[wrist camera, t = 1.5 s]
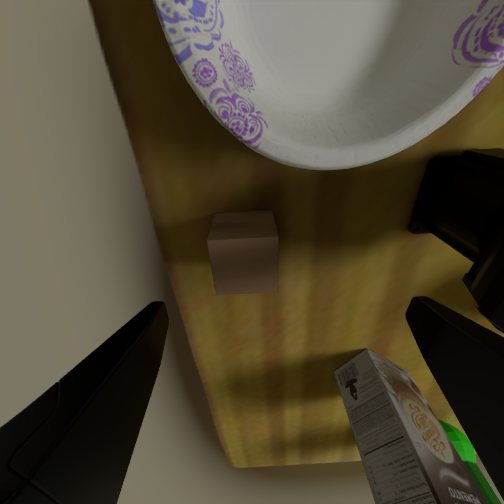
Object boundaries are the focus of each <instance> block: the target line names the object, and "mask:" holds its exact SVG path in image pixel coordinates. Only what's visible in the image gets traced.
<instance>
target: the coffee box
mask: <svg viewBox="0 0 504 504" xmlns="http://www.w3.org/2000/svg"><path fill="white" fill-rule="evenodd" d="M334 374H335V377H336V380H337V383H338V387H339V390H340V393H341V396H342V399H343V402H344V406H345V409H346V412H347V415H348V418H349V421H350V425H351V428H352V431H353V434H354V437H355V440H356V444H357V447H358V450H359V453H360V456H361V459H362V463H363V466H364V469H365V472H366V475H367V478H368V481H369V485H370V488H371V491H372V494H373V497H374V501H375V504H488V502H487V500H486V499H485V497H484V495H483V494H482V492H481V490H480V489H479V487H478V485H477V484H476V482H475V480H474V479H473V477H472V475H471V474H470V472H469V470H468V469H467V467H466V465H465V464H464V462H463V460H462V459H461V457H460V455H459V454H458V452H457V451H456V449H455V447H454V446H453V444H452V442H451V441H450V439H449V437H448V436H447V434H446V432H445V431H444V429H443V427H442V426H441V424H440V422H439V421H438V419H437V417H436V416H435V414H434V412H433V411H432V409H431V408H430V406H429V404H428V402H427V401H426V399H425V397H424V396H423V394H422V393H421V391H420V389H419V387H418V386H417V384H416V383H415V381H414V379H413V378H412V376H411V374H410V373H409V372H408V371H407V370H405V369H403V368H401V367H399V366H397V365H395V364H394V363H392V362H390V361H388V360H386V359H385V358H383V357H381V356H379V355H377V354H376V353H374V352H372V351H370V350H368V349H365V350H364V351H362V352H361V353H359V354H358V355H357V356H355V357H354V358H352V359H351V360H350V361H348V362H347V363H346V364H344V365H343V366H341V367H340V368H339V369H337V370H336V371H334Z"/></svg>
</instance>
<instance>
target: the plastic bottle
mask: <svg viewBox="0 0 504 504" xmlns="http://www.w3.org/2000/svg"><path fill="white" fill-rule="evenodd" d="M438 421H439V422H440V424H441V426H442V427H443V429H444V431H445V432H446V434H447V436H448V437H449V439H450V441H451V442H452V444H453V446H454V447H455V449H456V451H457V452H458V454H459V455H460V457H461V459H462V460H463V462H464V464H465V465H466V467H467V469H468V470H469V472H470V474H471V475H472V477H473V479H474V480H475V482H476V484H477V485H478V487H479V489H480V490H481V492H482V494H483V495H484V497H485V499H486V500H487V502H488V504H501V502H500V501H499V499H498V497H497V496H496V494H495V493H494V491H493V490H492V488H491V486H490V485H489V483H488V482H487V481H486V479H485V477H484V476H483V474H482V472H481V471H480V469H479V468H478V466H477V463H476V457H475V453H474V450H473V446H472V444H471V443H470V441H469V440H468V438H467V437H466V436H465V435H464V434H463V433H462V432H461V431H460V430H459V429H457V428H455V427H454V426H452V425H450V424H448V423H445V422H443V421H441V420H439V419H438Z"/></svg>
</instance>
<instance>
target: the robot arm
mask: <svg viewBox="0 0 504 504" xmlns="http://www.w3.org/2000/svg"><path fill="white" fill-rule="evenodd" d="M437 161H438V164H437V165H436V166H435V163H436V162H437ZM416 226H417V227H416ZM415 227H416V228H415ZM414 228H415V229H414ZM408 230H409V231H410V232H411V233H413V234H420V233H432V234H433V235H435V236H436V237H438V238H439V239H441V240H442V241H443V242H445V243H446V244H448V245H449V246H451V247H452V248H453V249H455V250H456V251H458V252H459V253H461V254H462V255H463V256H465V257H466V258H468V259H469V260H470V261H472V262H473V265H472V267H471V268H470V270H469V272H468V273H466V274H465V275H464V277H463V279H462V280H463V282H464V284H465V285H466V287H467V288H468V290H469V291H470V293H471V294H472V296H473V298H474V299H475V301H476V302H477V304H478V305H479V306H478V308H477V309H478V310H479V312H480V313H481V314H482V315H483V316H484V317H485V318H486V319H487V320H489V322H490V323H491V324H492V325H493V326H494V327H495V328H496V329H498V330H499V331H501V332H502V333H504V149H500V148H493V149H475V150H466V151H464V152H462V154H461V155H454V156H437V157H434V158H432V159H431V160H430V161H429V163H428V166H427V170H426V173H425V176H424V179H423V182H422V185H421V189H420V192H419V195H418V198H417V201H416V204H415V208H414V211H413V214H412V217H411V220H410V223H409V227H408ZM405 315H406V320H407V322H408V325H409V327H410V329H411V331H412V334H413V336H414V338H415V340H416V343H417V345H418V347H419V349H420V352H421V354H422V356H423V358H424V360H425V362H426V364H427V366H428V367H429V369H430V371H431V373H432V374H433V376H434V378H435V380H436V382H437V383H438V385H439V387H440V389H441V390H442V392H443V394H444V396H445V398H446V399H447V401H448V403H449V405H450V406H451V408H452V410H453V412H454V413H455V415H456V417H457V419H458V421H459V422H460V424H461V426H462V428H463V429H464V431H465V433H466V435H467V437H468V438H469V440H470V442H471V444H472V445H473V447H474V449H475V451H476V453H477V454H478V456H479V458H480V460H481V461H482V463H483V465H484V467H485V468H486V470H487V472H488V474H489V476H490V477H491V479H492V481H493V483H494V484H495V486H496V488H497V490H498V492H499V493H500V495H501V497H502V499H503V501H504V337H502V336H500V335H498V334H496V333H494V332H493V331H491V330H489V329H487V328H485V327H483V326H481V325H479V324H477V323H476V322H474V321H472V320H470V319H468V318H466V317H464V316H462V315H461V314H459V313H457V312H455V311H453V310H451V309H449V308H447V307H445V306H444V305H442V304H440V303H438V302H436V301H434V300H432V299H430V298H429V297H426V296H416V297H413V298H412V300H411V302H410V304H409V306H408V309H407V311H406V314H405ZM168 324H169V317H168V313H167V309H166V305H165V303H164V302H163V301H154V302H151V303H150V304H149V305H147V306H146V307H145V308H144V309H143V310H141V311H140V312H139V313H138V314H137V315H135V316H134V317H133V318H132V319H131V320H130V321H128V322H127V323H126V324H125V325H124V326H122V327H121V328H120V329H119V330H118V331H117V332H116V333H114V334H113V335H112V336H111V337H109V338H108V339H107V340H106V341H105V342H104V343H102V344H101V345H100V346H99V347H98V348H97V349H95V350H94V351H93V352H92V353H91V354H90V355H88V356H87V357H86V358H85V359H83V360H82V361H81V362H80V363H79V364H78V365H76V366H75V367H74V368H73V369H72V370H71V371H70V372H68V373H67V374H66V375H65V376H63V377H62V378H61V379H60V380H59V382H56V383H55V384H54V385H53V386H52V387H50V388H49V389H48V390H47V391H46V392H44V393H43V394H42V395H41V396H40V397H38V398H37V399H36V400H35V401H33V402H32V403H31V404H30V405H29V406H27V407H26V408H25V409H24V410H22V411H21V412H20V413H19V414H17V415H16V416H15V417H13V418H12V419H11V420H10V421H9V422H7V423H6V424H4V425H3V426H2V427H0V504H117V501H118V498H119V495H120V492H121V488H122V485H123V482H124V479H125V476H126V472H127V469H128V466H129V463H130V460H131V457H132V453H133V450H134V447H135V444H136V441H137V438H138V435H139V431H140V428H141V425H142V422H143V419H144V415H145V412H146V409H147V406H148V403H149V400H150V397H151V394H152V390H153V387H154V384H155V381H156V378H157V375H158V371H159V368H160V364H161V360H162V355H163V350H164V345H165V340H166V335H167V330H168Z"/></svg>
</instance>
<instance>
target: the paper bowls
mask: <svg viewBox="0 0 504 504" xmlns="http://www.w3.org/2000/svg"><path fill="white" fill-rule="evenodd" d="M153 3H154V6H155V9H156V12H157V15H158V18H159V21H160V24H161V26H162V29H163V32H164V34H165V37H166V40H167V42H168V44H169V46H170V49H171V51H172V53H173V55H174V58H175V60H176V62H177V64H178V66H179V67H180V69H181V71H182V73H183V74H184V76H185V78H186V80H187V82H188V83H189V84H190V86H191V87H192V89H193V90H194V92H195V93H196V95H197V96H198V97H199V99H200V101H201V102H202V103H203V105H204V106H205V107H206V108H207V109H208V110H209V112H210V113H211V114H212V115H213V117H214V118H215V119H216V120H217V121H218V122H219V123H220V124H221V125H222V126H223V127H225V128H226V129H227V130H228V131H229V132H230V133H231V134H232V135H234V136H235V137H236V138H237V139H238V140H240V141H241V142H242V143H244V144H245V145H246V146H248V147H249V148H251V149H252V150H254V151H255V152H257V153H259V154H261V155H263V156H265V157H267V158H269V159H272V160H274V161H276V162H279V163H281V164H284V165H288V166H292V167H296V168H302V169H310V170H338V169H348V168H353V167H358V166H362V165H366V164H370V163H373V162H375V161H379V160H382V159H384V158H387V157H389V156H391V155H394V154H396V153H398V152H400V151H402V150H404V149H406V148H408V147H410V146H412V145H414V144H415V143H417V142H418V141H420V140H422V139H423V138H425V137H427V136H428V135H429V134H431V133H432V132H433V131H435V130H436V129H438V128H439V127H440V126H442V125H444V124H445V123H446V122H447V121H448V120H449V119H451V118H452V117H453V116H454V115H456V114H457V113H458V112H459V111H460V110H461V109H462V108H464V107H465V106H466V105H467V103H469V102H470V101H471V100H473V99H474V98H475V96H476V95H477V94H478V93H479V92H480V91H481V90H482V89H483V88H484V87H485V86H486V85H487V84H488V83H489V82H490V81H491V79H492V78H493V77H494V76H495V75H496V74H497V72H498V71H499V70H500V69H501V68H502V67H503V66H504V0H153Z"/></svg>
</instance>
